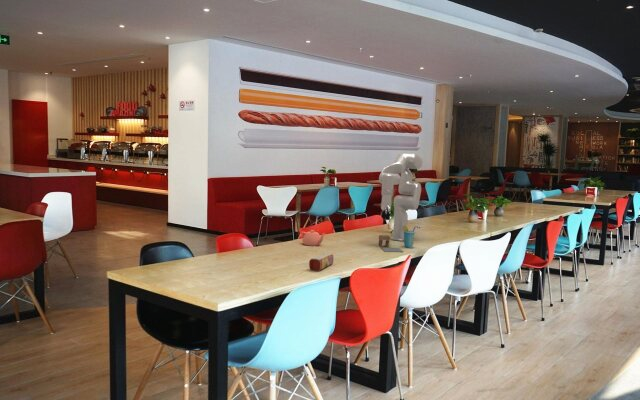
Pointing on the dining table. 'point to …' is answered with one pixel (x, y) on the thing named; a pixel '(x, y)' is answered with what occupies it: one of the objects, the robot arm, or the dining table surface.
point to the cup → (408, 237)
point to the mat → (391, 249)
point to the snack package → (321, 261)
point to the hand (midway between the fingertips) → (385, 218)
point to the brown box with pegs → (384, 237)
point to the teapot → (312, 238)
